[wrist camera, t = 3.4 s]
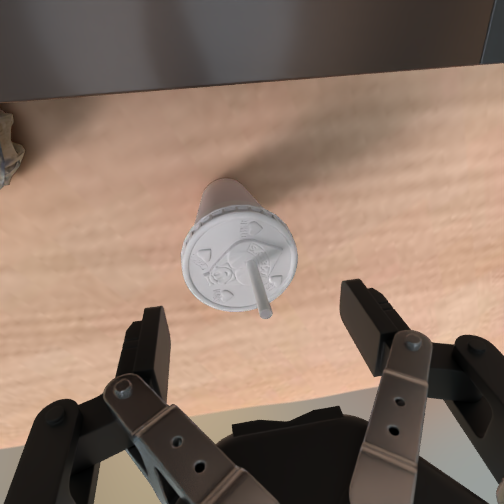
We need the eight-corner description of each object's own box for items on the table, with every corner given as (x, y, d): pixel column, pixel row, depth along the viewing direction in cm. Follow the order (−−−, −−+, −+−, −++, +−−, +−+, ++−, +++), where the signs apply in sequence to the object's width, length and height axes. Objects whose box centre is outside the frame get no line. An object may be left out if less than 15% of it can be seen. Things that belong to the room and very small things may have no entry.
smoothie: (276, 220, 29) (340, 340, 17) (204, 250, 29) (215, 389, 17) (248, 146, 25) (303, 229, 13) (168, 180, 26) (149, 292, 14)
